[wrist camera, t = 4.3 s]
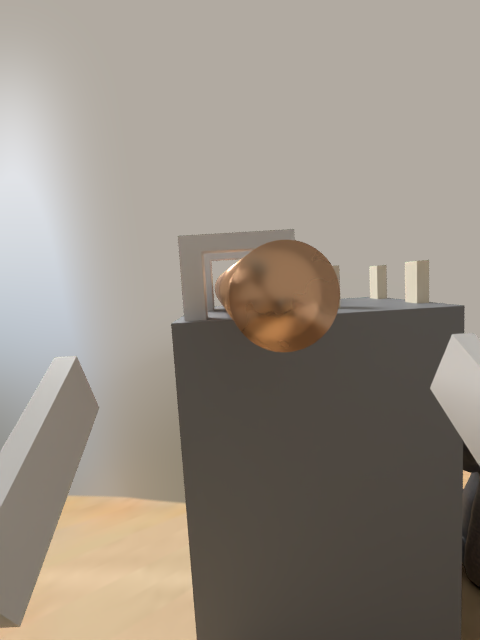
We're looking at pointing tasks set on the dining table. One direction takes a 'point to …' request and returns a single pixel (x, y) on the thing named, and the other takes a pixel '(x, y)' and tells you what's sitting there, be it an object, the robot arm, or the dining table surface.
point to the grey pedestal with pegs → (319, 465)
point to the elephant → (471, 518)
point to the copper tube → (281, 295)
